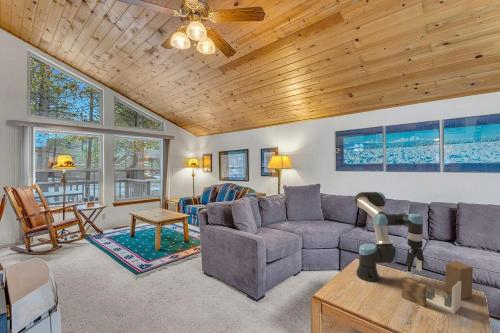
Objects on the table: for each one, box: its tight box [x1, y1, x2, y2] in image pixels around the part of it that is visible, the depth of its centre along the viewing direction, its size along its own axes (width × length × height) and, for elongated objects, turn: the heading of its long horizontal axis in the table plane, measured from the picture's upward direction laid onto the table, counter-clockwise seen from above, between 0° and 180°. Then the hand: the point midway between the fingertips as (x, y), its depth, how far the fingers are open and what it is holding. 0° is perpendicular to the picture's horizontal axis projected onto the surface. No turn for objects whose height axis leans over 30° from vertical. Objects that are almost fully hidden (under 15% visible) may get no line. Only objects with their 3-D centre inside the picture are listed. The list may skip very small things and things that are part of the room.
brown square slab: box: [401, 277, 428, 308], centre depth 149 cm, size 12×4×12 cm, turn 35°
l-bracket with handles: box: [426, 281, 462, 315], centre depth 147 cm, size 16×12×15 cm
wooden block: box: [444, 260, 474, 301], centre depth 155 cm, size 10×10×20 cm
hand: (414, 273), depth 149 cm, fingers open, 13 cm apart
